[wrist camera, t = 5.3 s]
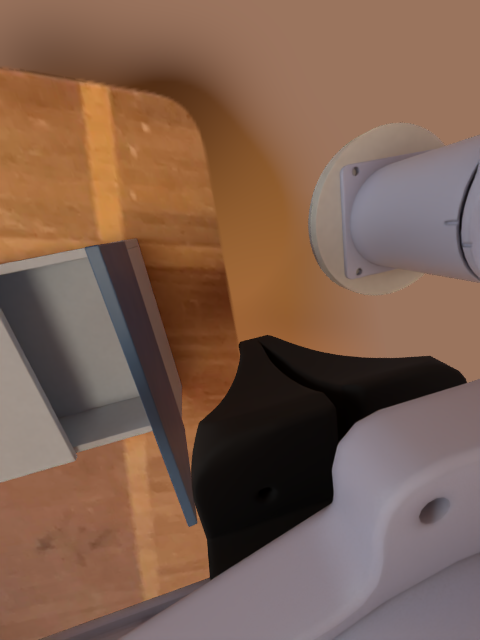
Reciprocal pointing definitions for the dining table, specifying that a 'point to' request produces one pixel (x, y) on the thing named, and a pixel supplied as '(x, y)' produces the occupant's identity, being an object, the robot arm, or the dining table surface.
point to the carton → (66, 363)
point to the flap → (144, 362)
